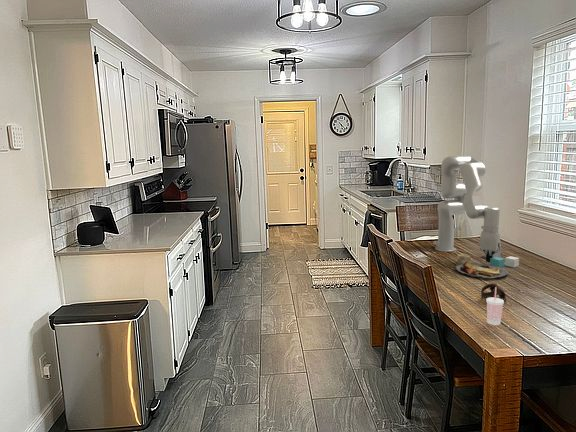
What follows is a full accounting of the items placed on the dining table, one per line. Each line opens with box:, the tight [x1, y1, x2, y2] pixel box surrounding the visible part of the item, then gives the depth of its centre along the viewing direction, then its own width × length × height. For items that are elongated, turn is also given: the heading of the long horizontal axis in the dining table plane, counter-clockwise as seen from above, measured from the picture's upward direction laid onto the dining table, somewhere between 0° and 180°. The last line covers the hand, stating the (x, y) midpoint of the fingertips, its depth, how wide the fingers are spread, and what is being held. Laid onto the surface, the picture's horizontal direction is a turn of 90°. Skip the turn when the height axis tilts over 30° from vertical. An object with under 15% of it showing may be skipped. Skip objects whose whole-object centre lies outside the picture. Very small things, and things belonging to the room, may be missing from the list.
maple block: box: [456, 253, 471, 265], centre depth 245 cm, size 5×5×4 cm
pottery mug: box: [480, 282, 507, 303], centre depth 189 cm, size 12×10×8 cm
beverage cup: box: [485, 287, 505, 326], centre depth 164 cm, size 6×6×14 cm
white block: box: [504, 255, 520, 268], centre depth 239 cm, size 5×5×4 cm
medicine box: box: [483, 243, 502, 258], centre depth 256 cm, size 8×4×9 cm, turn 84°
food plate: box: [454, 262, 509, 279], centre depth 227 cm, size 25×23×4 cm
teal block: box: [489, 257, 505, 268], centre depth 237 cm, size 5×5×4 cm
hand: (488, 261), depth 241 cm, fingers closed
